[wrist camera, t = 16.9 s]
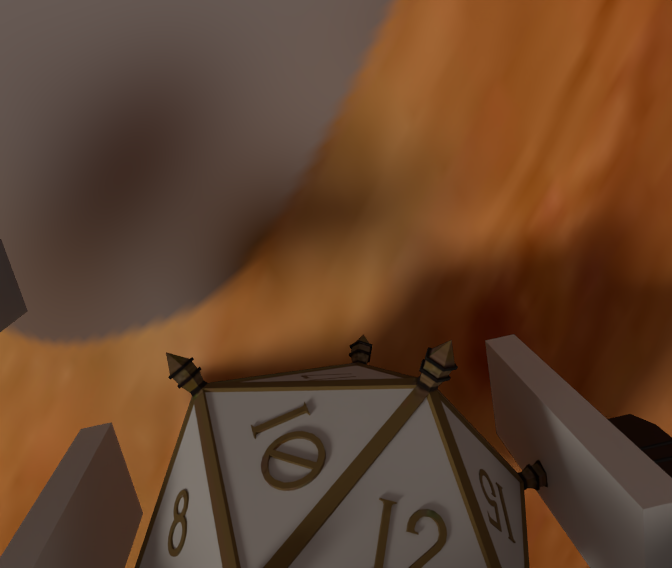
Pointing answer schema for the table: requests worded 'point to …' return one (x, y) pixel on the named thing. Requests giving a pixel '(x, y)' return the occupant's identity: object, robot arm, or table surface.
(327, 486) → the game die
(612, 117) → the table surface
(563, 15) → the table surface
